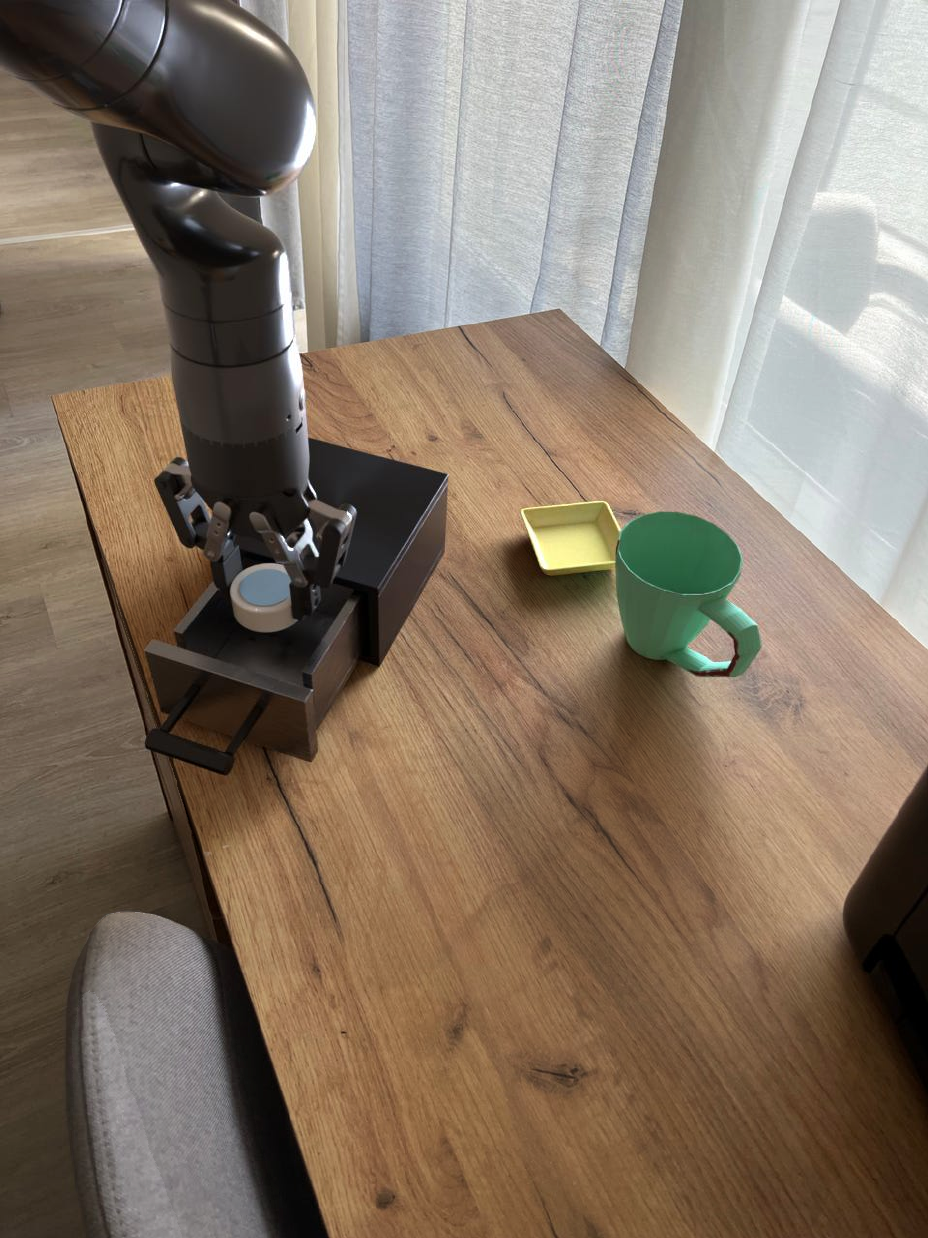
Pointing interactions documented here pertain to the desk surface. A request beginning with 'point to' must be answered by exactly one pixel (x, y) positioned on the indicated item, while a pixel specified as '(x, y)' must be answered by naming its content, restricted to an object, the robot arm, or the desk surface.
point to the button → (262, 598)
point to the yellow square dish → (572, 537)
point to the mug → (681, 591)
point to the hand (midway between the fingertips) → (268, 601)
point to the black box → (378, 532)
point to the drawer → (254, 676)
